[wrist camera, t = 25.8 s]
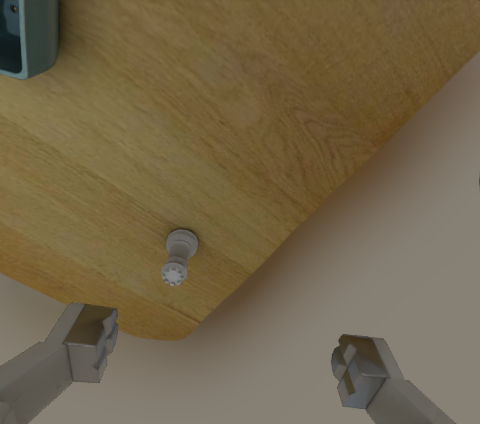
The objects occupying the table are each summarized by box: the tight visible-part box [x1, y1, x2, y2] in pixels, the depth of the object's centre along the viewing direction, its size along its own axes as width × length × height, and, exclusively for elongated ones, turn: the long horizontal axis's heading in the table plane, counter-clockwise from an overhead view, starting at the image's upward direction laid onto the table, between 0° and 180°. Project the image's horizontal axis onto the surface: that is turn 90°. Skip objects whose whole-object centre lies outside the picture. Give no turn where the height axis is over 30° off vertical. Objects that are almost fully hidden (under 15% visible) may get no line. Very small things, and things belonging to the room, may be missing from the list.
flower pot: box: [0, 0, 58, 80], centre depth 27 cm, size 9×9×9 cm
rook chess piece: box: [161, 229, 198, 286], centre depth 41 cm, size 4×4×8 cm
